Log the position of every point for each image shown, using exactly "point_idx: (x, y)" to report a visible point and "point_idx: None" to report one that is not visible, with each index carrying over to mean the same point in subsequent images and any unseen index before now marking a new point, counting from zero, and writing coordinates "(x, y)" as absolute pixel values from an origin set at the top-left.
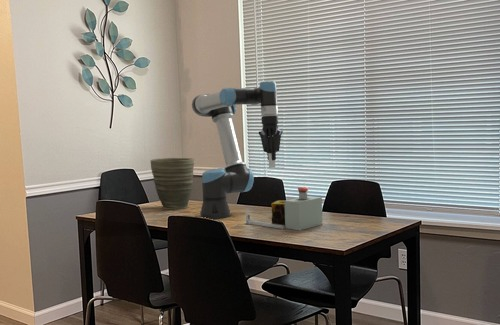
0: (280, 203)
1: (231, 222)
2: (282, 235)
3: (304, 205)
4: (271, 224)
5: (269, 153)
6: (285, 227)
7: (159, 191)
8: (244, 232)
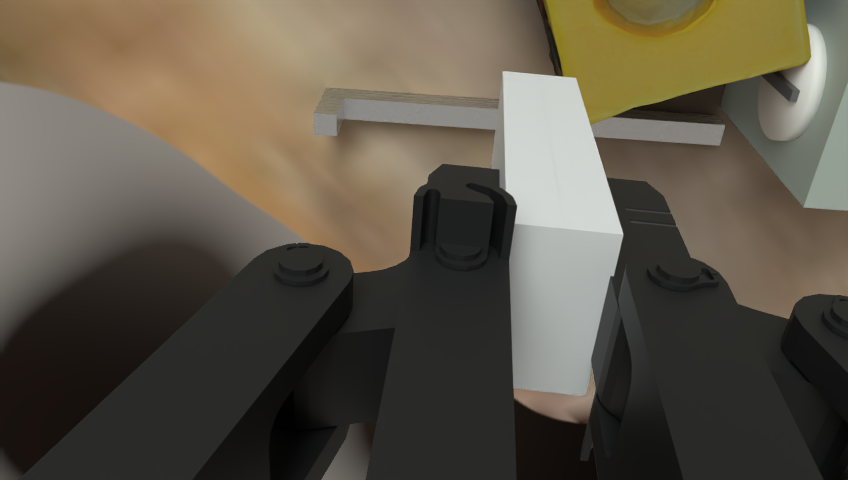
0: (672, 87)
1: (191, 124)
2: (806, 294)
3: None
4: (600, 134)
5: (532, 387)
6: (723, 108)
7: None
8: None
